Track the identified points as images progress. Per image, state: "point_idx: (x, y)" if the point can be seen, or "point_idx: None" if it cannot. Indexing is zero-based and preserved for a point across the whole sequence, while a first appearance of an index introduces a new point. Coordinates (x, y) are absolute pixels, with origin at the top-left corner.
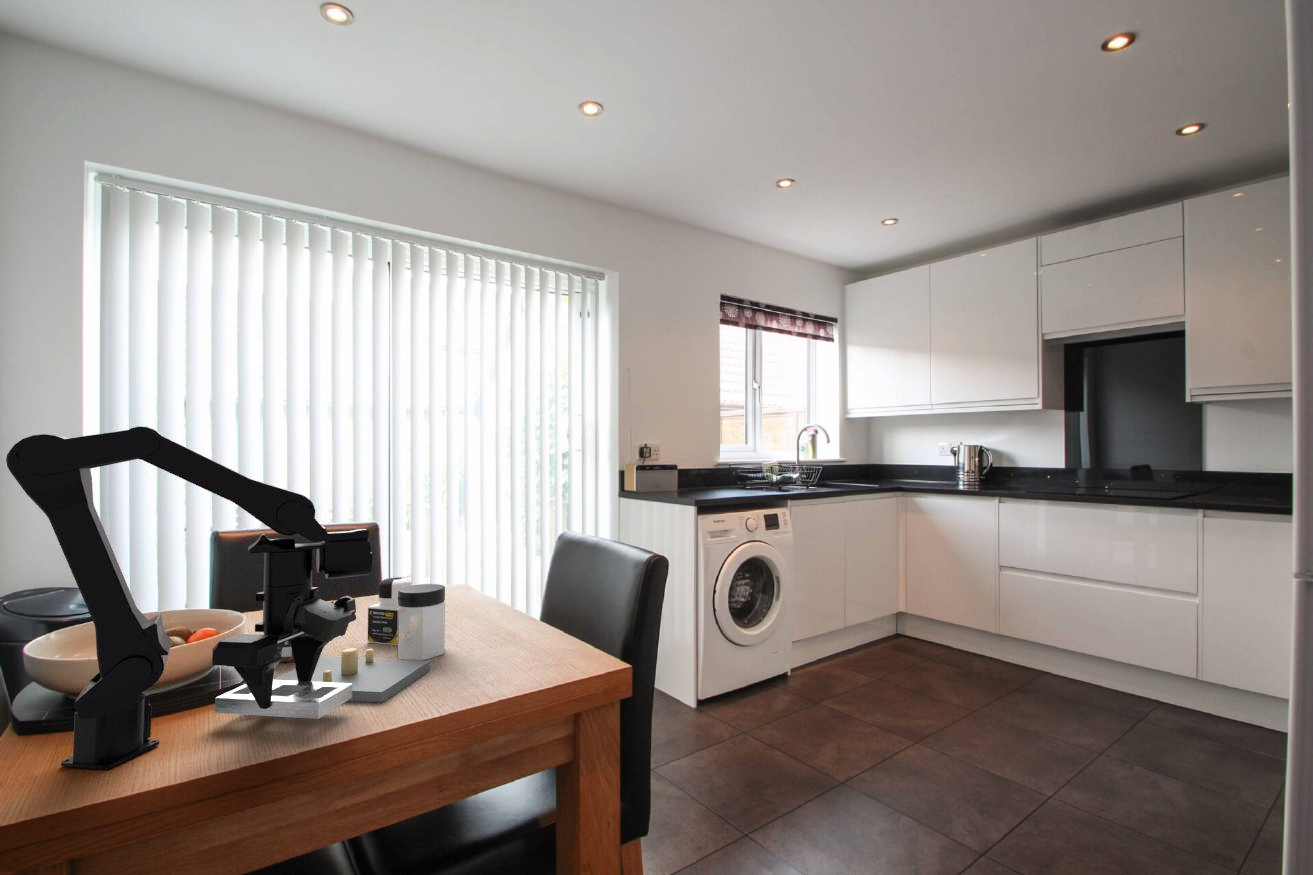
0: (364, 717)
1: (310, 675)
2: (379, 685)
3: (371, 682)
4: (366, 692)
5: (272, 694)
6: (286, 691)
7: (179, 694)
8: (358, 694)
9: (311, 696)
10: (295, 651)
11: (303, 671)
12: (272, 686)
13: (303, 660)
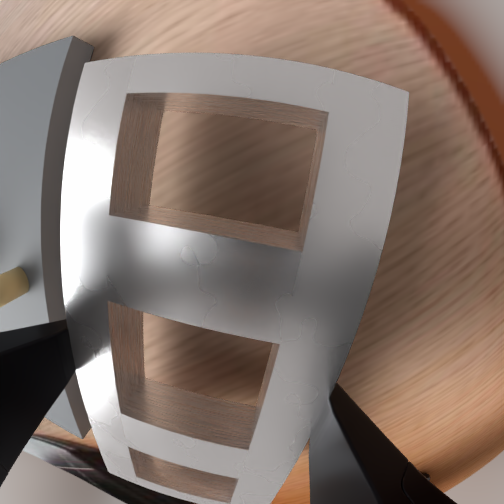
0: (214, 24)
1: (44, 333)
2: (23, 90)
3: (3, 135)
4: (58, 96)
5: (186, 419)
6: (131, 384)
7: (130, 499)
8: (58, 128)
9: (214, 227)
10: (2, 461)
11: (43, 375)
12: (148, 439)
13: (8, 407)
